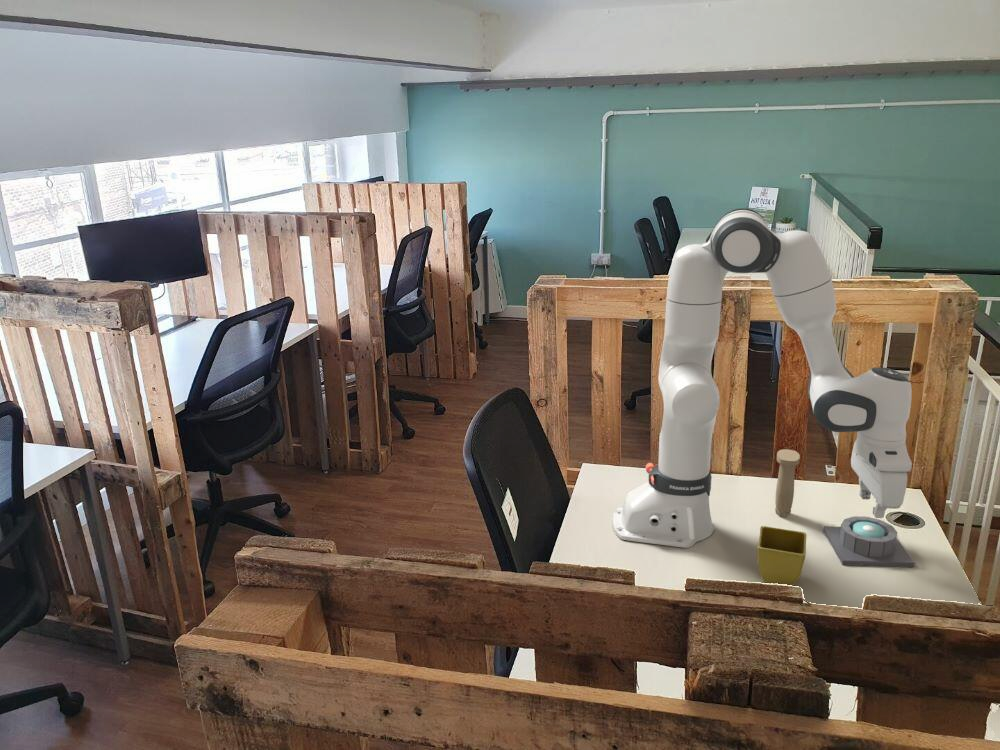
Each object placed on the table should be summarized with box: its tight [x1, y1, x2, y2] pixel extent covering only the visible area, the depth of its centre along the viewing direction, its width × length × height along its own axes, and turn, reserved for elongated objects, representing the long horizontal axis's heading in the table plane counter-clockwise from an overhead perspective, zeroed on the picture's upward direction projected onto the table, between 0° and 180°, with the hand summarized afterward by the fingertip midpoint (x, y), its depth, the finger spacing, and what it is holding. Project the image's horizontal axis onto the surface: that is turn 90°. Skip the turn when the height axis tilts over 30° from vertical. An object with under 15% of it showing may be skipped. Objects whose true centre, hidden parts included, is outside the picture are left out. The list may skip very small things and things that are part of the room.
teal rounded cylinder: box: [853, 522, 885, 538], centre depth 163 cm, size 6×6×4 cm
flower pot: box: [757, 525, 807, 586], centre depth 153 cm, size 9×9×9 cm
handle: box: [774, 449, 801, 518], centre depth 177 cm, size 5×6×15 cm
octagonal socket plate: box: [822, 515, 916, 568], centre depth 163 cm, size 14×14×5 cm
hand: (871, 507), depth 161 cm, fingers open, 7 cm apart
